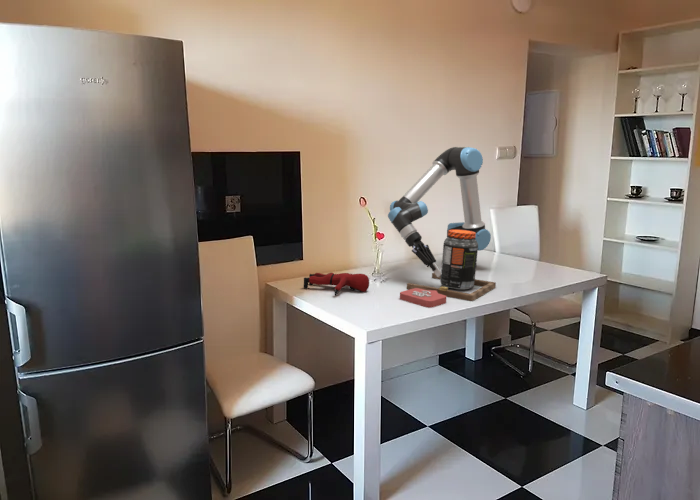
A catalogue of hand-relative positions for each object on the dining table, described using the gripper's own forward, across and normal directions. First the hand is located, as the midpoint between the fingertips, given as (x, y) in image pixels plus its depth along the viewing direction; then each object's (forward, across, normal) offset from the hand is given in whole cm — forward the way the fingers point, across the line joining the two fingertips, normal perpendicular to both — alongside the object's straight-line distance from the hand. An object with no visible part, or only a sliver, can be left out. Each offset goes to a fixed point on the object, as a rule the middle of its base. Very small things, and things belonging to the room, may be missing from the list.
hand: (440, 275), depth 252 cm
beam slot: (+7, -2, -1) cm, 7 cm away
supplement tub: (+8, -5, +1) cm, 9 cm away
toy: (-20, +31, -31) cm, 48 cm away
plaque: (+8, +22, -2) cm, 23 cm away
